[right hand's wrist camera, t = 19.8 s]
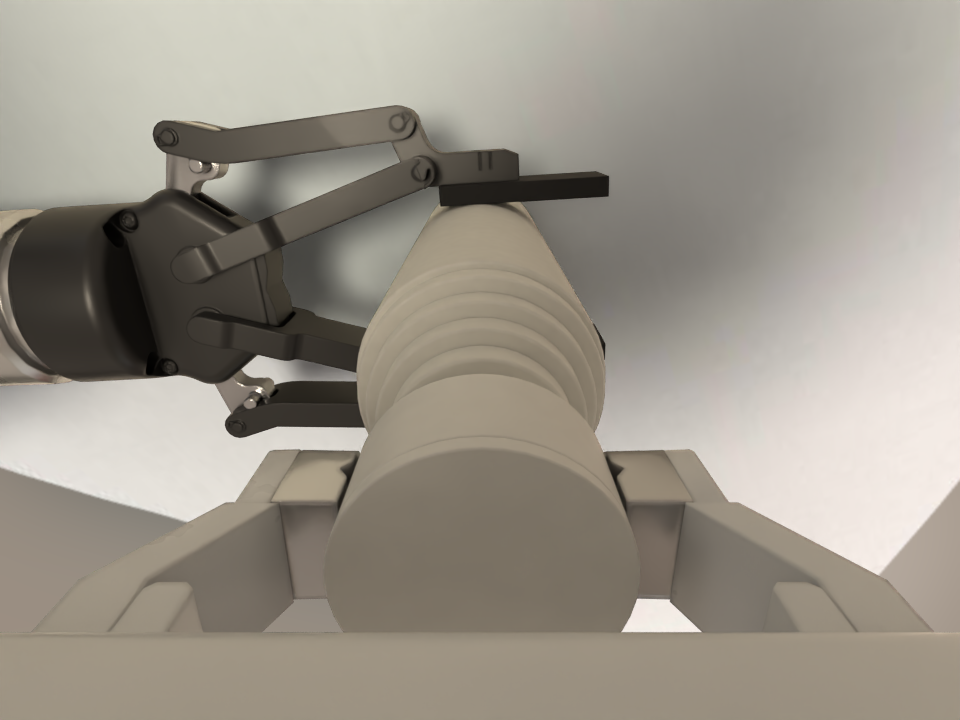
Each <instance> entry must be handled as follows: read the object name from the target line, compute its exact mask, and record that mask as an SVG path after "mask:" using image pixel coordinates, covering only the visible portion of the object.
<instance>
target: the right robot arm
mask: <svg viewBox="0 0 960 720" xmlns="http://www.w3.org/2000/svg"><path fill="white" fill-rule="evenodd" d="M603 453H604V456H605V459H606V462H607V464H608V467H609V470H610V472H611V475H612V478H613V480H614V483H615V486H616V488H617V491H618V494H619V496H620V499H621V502H622V505H623V507H624V510H625V513H626V515H627V518H628V521H629V523H630V526H631V529H632V531H633V534H634V537H635V541H636V544H637V547H638V551H639V558H640V567H641V570H640V586H639V590H638V595H637V598H639V599H670V602H671V603H672V604H673V605H674V606H675V607H676V608H677V609H678V610H679V611H680V612H681V613H683V614H684V615H685V616H686V617H687V618H688V619H689V620H690V621H691V622H692V623H693V624H694V625H695V626H696V627H697V628H698V629H700V630H701V631H702V632H263V631H264V630H265V629H266V628H267V627H268V626H269V625H270V624H271V623H272V622H273V621H274V620H275V619H276V618H277V617H278V616H280V615H281V614H282V613H283V612H284V611H285V610H286V609H287V608H288V607H289V606H290V605H291V604H292V603H293V602H294V601H293V599H323V598H327V594H326V590H325V585H324V569H323V567H324V559H325V551H326V547H327V544H328V540H329V537H330V534H331V531H332V528H333V526H334V523H335V521H336V518H337V515H338V512H339V510H340V507H341V504H342V502H343V499H344V496H345V494H346V491H347V488H348V485H349V483H350V480H351V477H352V475H353V472H354V469H355V467H356V464H357V461H358V459H359V456H360V452H359V451H328V450H302V451H301V450H300V449H299V450H273V451H270V452H269V453H268V454H267V455H266V457H265V458H264V460H263V461H262V463H261V464H260V466H259V467H258V469H257V470H256V472H255V473H254V475H253V476H252V478H251V479H250V481H249V482H248V484H247V485H246V487H245V488H244V490H243V491H242V493H241V494H240V496H239V497H238V499H237V500H236V502H231V503H224V504H222V505H220V506H218V507H216V508H215V509H213V510H211V511H209V512H207V513H205V514H203V515H201V516H199V517H197V518H195V519H194V520H192V521H190V522H188V523H186V524H184V525H182V526H180V527H178V528H176V529H174V530H172V531H171V532H169V533H167V534H165V535H163V536H161V537H159V538H157V539H155V540H153V541H152V542H150V543H148V544H146V545H144V546H142V547H140V548H138V549H136V550H134V551H132V552H130V553H129V554H127V555H125V556H123V557H121V558H119V559H117V560H115V561H113V562H111V563H109V564H107V565H106V566H104V567H102V568H100V569H98V570H96V571H94V572H92V573H90V574H88V575H87V576H85V577H83V578H81V579H79V580H78V581H77V582H76V583H75V584H74V585H73V587H72V588H71V589H70V590H69V591H68V592H67V593H66V594H65V595H64V596H63V598H62V599H61V600H60V601H59V602H58V603H57V604H56V605H55V606H54V607H53V609H52V610H51V611H50V612H49V613H48V614H47V615H46V616H45V617H44V619H43V620H42V621H41V622H40V623H39V624H38V625H37V626H36V627H35V629H34V630H33V631H32V632H0V720H960V632H934V631H933V630H932V629H931V628H930V627H929V625H928V624H927V623H926V622H925V621H924V620H923V619H922V618H921V617H920V616H919V615H918V613H917V612H916V611H915V610H914V609H913V608H912V607H911V606H910V605H909V603H908V602H907V601H906V600H905V599H904V598H903V597H902V596H901V595H900V594H899V592H898V591H897V590H896V589H895V588H894V587H893V586H892V585H891V584H890V583H889V581H888V580H886V579H884V578H882V577H880V576H878V575H876V574H874V573H872V572H870V571H869V570H867V569H865V568H863V567H861V566H859V565H857V564H855V563H853V562H851V561H849V560H847V559H846V558H844V557H842V556H840V555H838V554H836V553H834V552H832V551H830V550H828V549H826V548H824V547H823V546H821V545H819V544H817V543H815V542H813V541H811V540H809V539H807V538H805V537H803V536H801V535H799V534H798V533H796V532H794V531H792V530H790V529H788V528H786V527H784V526H782V525H780V524H778V523H776V522H775V521H773V520H771V519H769V518H767V517H765V516H763V515H761V514H759V513H757V512H755V511H753V510H752V509H750V508H748V507H746V506H744V505H742V504H740V503H733V502H728V500H727V499H726V497H725V496H724V494H723V493H722V491H721V490H720V489H719V487H718V486H717V484H716V483H715V481H714V480H713V478H712V477H711V475H710V474H709V473H708V471H707V470H706V468H705V467H704V465H703V464H702V462H701V461H700V460H699V458H698V457H697V455H696V454H695V452H694V451H692V450H690V449H685V450H650V451H609V452H603Z"/></svg>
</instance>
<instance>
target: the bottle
mask: <svg viewBox="0 0 960 720" xmlns="http://www.w3.org/2000/svg"><path fill="white" fill-rule="evenodd" d="M470 374H494V375H503V376H509V377H514V378H518V379H522V380H525V381H528V382H531V383H534V384H536V385H539V386H541V387H543V388H545V389H547V390H549V391H551V392H553V393H554V394H556V395H557V396H559V397H561V398H562V399H564V400H565V401H566V402H567V403H568V404H570V405H571V406H572V407H573V408H574V409H576V410H577V412H578V413H579V414H580V415H581V416H582V417H583V418H584V419H585V420H586V421H587V423H588V424H589V426H590V427H591V429H592V430H593V432H595V430H596V428H597V426H598V423H599V420H600V417H601V413H602V410H603V404H604V397H605V361H604V354H603V349H602V346H601V343H600V339H599V336H598V334H597V332H596V330H595V327H594V325H593V323H592V321H591V319H590V318H589V316H588V314H587V313H586V311H585V309H584V307H583V306H582V304H581V302H580V301H579V299H578V297H577V295H576V294H575V292H574V290H573V288H572V287H571V285H570V283H569V282H568V280H567V278H566V276H565V275H564V273H563V271H562V269H561V268H560V266H559V264H558V263H557V261H556V259H555V257H554V256H553V254H552V252H551V251H550V249H549V247H548V245H547V244H546V242H545V240H544V238H543V237H542V235H541V233H540V232H539V230H538V228H537V226H536V225H535V223H534V221H533V219H532V218H531V216H530V214H529V213H528V211H527V210H526V208H525V207H524V206H523V205H522V203H521V202H509V203H492V204H476V205H460V206H443V207H440V203H439V204H438V205H437V207H436V208H435V209H434V211H433V212H432V214H431V216H430V217H429V219H428V221H427V223H426V224H425V226H424V228H423V230H422V231H421V233H420V235H419V237H418V239H417V240H416V242H415V244H414V246H413V247H412V249H411V251H410V253H409V254H408V256H407V258H406V260H405V261H404V263H403V265H402V267H401V269H400V270H399V272H398V274H397V276H396V277H395V279H394V281H393V283H392V284H391V286H390V288H389V290H388V291H387V293H386V295H385V297H384V299H383V300H382V302H381V304H380V306H379V307H378V309H377V311H376V313H375V314H374V316H373V318H372V320H371V321H370V323H369V325H368V327H367V330H366V332H365V334H364V337H363V339H362V342H361V346H360V350H359V354H358V361H357V395H358V403H359V409H360V414H361V417H362V420H363V423H364V426H365V428H366V430H367V432H368V434H369V433H370V432H371V430H372V429H373V427H374V426H375V424H376V423H377V421H378V420H379V419H380V418H381V417H382V416H383V415H384V413H385V412H386V411H387V410H388V409H389V408H391V407H392V406H393V405H394V404H395V403H397V402H398V401H399V400H400V399H402V398H403V397H405V396H406V395H408V394H410V393H411V392H413V391H414V390H417V389H419V388H421V387H423V386H425V385H427V384H430V383H433V382H436V381H439V380H442V379H445V378H450V377H455V376H461V375H470Z"/></svg>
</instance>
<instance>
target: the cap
mask: <svg viewBox="0 0 960 720" xmlns="http://www.w3.org/2000/svg"><path fill="white" fill-rule="evenodd" d="M323 569H324V585H325V590H326V594H327V599H328V602H329V605H330V607H331V610H332V613H333V615H334V617H335V619H336V621H337V622H338V624H339V626H340V628H341V629H342V631H343V632H621V631H622V630H623V628H624V626H625V625H626V623H627V621H628V619H629V618H630V616H631V613H632V611H633V608H634V605H635V603H636V600H637V595H638V590H639V586H640V570H641V567H640V558H639V551H638V547H637V544H636V541H635V537H634V534H633V531H632V529H631V526H630V523H629V521H628V518H627V515H626V513H625V510H624V507H623V505H622V502H621V499H620V496H619V494H618V491H617V488H616V486H615V483H614V480H613V478H612V475H611V472H610V470H609V467H608V464H607V462H606V459H605V456H604V453H603V451H602V448H601V446H600V444H599V442H598V439H597V437H596V435H595V433H594V432H593V430H592V429H591V427H590V426H589V424H588V423H587V421H586V420H585V419H584V418H583V417H582V416H581V415H580V414H579V413H578V412H577V410H576V409H574V408H573V407H572V406H571V405H570V404H568V403H567V402H566V401H565V400H564V399H562V398H561V397H559V396H557V395H556V394H554V393H553V392H551V391H549V390H547V389H545V388H543V387H541V386H539V385H536V384H534V383H531V382H528V381H525V380H522V379H518V378H514V377H509V376H503V375H494V374H470V375H461V376H455V377H450V378H445V379H442V380H439V381H436V382H433V383H430V384H427V385H425V386H423V387H421V388H419V389H417V390H414V391H413V392H411V393H410V394H408V395H406V396H405V397H403V398H402V399H400V400H399V401H398V402H397V403H395V404H394V405H393V406H392V407H391V408H389V409H388V410H387V411H386V412H385V413H384V415H383V416H382V417H381V418H380V419H379V420H378V421H377V423H376V424H375V426H374V427H373V429H372V430H371V432H370V433H369V435H368V437H367V439H366V441H365V443H364V445H363V448H362V450H361V453H360V456H359V459H358V461H357V464H356V467H355V469H354V472H353V475H352V477H351V480H350V483H349V485H348V488H347V491H346V494H345V496H344V499H343V502H342V504H341V507H340V510H339V512H338V515H337V518H336V521H335V523H334V526H333V528H332V531H331V534H330V537H329V540H328V544H327V547H326V551H325V559H324V567H323Z"/></svg>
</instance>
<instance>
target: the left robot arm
mask: <svg viewBox="0 0 960 720" xmlns="http://www.w3.org/2000/svg"><path fill="white" fill-rule="evenodd" d="M420 122H421V121H420V119H419V116H418V114H417V113H416V112H415V111H414V110H412V109H410V108H407V107H404V106H397V105H394V106H387V107H380V108H373V109H366V110H359V111H352V112H345V113H338V114H331V115H324V116H317V117H310V118H303V119H296V120H289V121H282V122H276V123H269V124H262V125H255V126H248V127H241V128H234V129H229V128H224V127H220V126H216V125H212V124H207V123H203V122H197V121H161V122H159V123H157V125H156V126H155V127H154V131H153V138H154V141H155V143H156V145H157V147H158V148H159V149H160V150H162V151H163V152H165V153H167V161H166V189H164V190H161V191H159V192H157V193H155V194H154V195H153V196H152V197H150V198H149V199H148V200H146V201H144V202H136V203H120V204H104V205H88V206H72V207H58V208H51V209H48V210H45V211H42V210H38V209H23V210H8V211H0V386H13V385H40V384H59V383H66V382H71V381H73V380H74V381H80V382H91V381H110V380H128V379H147V378H159V377H167V376H175V375H181V376H187V377H191V378H194V379H196V380H199V381H201V382H204V383H208V384H215V385H216V387H217V389H218V391H219V392H220V394H221V396H222V398H223V399H224V401H225V403H226V405H227V406H228V408H229V410H230V412H231V414H230V416H229V417H228V418H227V419H226V421H225V427H226V430H227V431H228V432H229V433H230V434H231V435H233V436H234V437H238V438H242V437H247V436H250V435H253V434H256V433H259V432H262V431H265V430H268V429H271V428H274V427H277V426H278V427H363V428H365V426H364V423H363V420H362V417H361V414H360V409H359V403H358V395H357V382H345V381H291V382H284V383H280V384H276V385H274V381H273V380H272V379H270V378H252V377H249V376H247V375H246V374H245V373H244V372H243V371H242V370H241V369H242V368H243V367H244V366H245V365H247V364H248V363H249V362H250V361H251V360H252V359H254V358H255V357H256V356H257V355H261V356H266V357H270V358H274V359H279V360H284V361H290V360H295V359H301V360H305V361H309V362H314V363H318V364H322V365H327V366H331V367H335V368H340V369H344V370H348V371H352V372H357V361H358V354H359V350H360V346H361V342H362V339H363V337H364V334H365V332H366V330H367V328H363V327H359V326H355V325H351V324H346V323H342V322H338V321H334V320H330V319H325V318H321V317H318V316H316V315H315V314H314V313H313V312H311V311H308V310H304V309H300V308H296V307H292V305H291V300H290V295H289V293H288V291H287V289H286V287H285V285H284V283H283V280H282V273H283V257H282V252H281V247H282V246H284V245H286V244H289V243H291V242H294V241H296V240H299V239H301V238H304V237H306V236H308V235H311V234H313V233H316V232H318V231H321V230H323V229H326V228H328V227H331V226H333V225H335V224H338V223H340V222H343V221H345V220H348V219H350V218H353V217H355V216H358V215H360V214H362V213H365V212H367V211H370V210H372V209H375V208H377V207H380V206H382V205H385V204H387V203H389V202H392V201H394V200H397V199H399V198H402V197H404V196H407V195H409V194H412V193H414V192H416V191H419V190H421V189H426V188H427V187H435V186H439V195H440V207H443V206H460V205H476V204H492V203H509V202H525V201H542V200H558V199H574V198H591V197H607V196H609V176H607V175H605V174H602V173H599V172H596V171H594V172H578V173H562V174H546V175H529V176H519V157H518V154H517V153H515V152H512V151H509V150H507V149H490V150H474V151H458V152H441V151H439V150H437V149H435V148H434V147H433V146H432V145H431V144H430V142H429V141H428V139H427V136H426V134H425V132H424V130H423V127H422V125H421V123H420ZM384 142H392V144H393V147H394V149H395V151H396V153H397V155H398V157H399V160H400V163H398V164H395V165H393V166H391V167H388V168H386V169H383V170H381V171H379V172H376V173H374V174H371V175H369V176H367V177H364V178H362V179H359V180H357V181H355V182H352V183H350V184H347V185H345V186H343V187H340V188H338V189H335V190H333V191H331V192H328V193H326V194H323V195H321V196H319V197H316V198H314V199H311V200H309V201H307V202H304V203H302V204H299V205H297V206H295V207H292V208H290V209H287V210H285V211H283V212H280V213H278V214H275V215H273V216H271V217H268V218H266V219H263V220H261V221H259V222H256V223H253V222H251V221H249V220H248V219H246V218H244V217H243V216H241V215H239V214H237V213H236V212H234V211H232V210H231V209H229V208H227V207H226V206H224V205H222V204H221V203H219V202H217V201H216V200H214V199H212V198H211V197H209V196H207V195H206V194H204V193H202V192H201V188H202V185H203V184H204V182H206V181H207V180H213V179H218V178H221V177H223V176H225V175H226V173H227V171H228V168H229V164H230V163H240V162H248V161H255V160H263V159H270V158H277V157H284V156H291V155H298V154H305V153H313V152H320V151H327V150H334V149H341V148H348V147H355V146H363V145H370V144H377V143H384ZM593 325H594V324H593ZM594 327H595V330H596V332H597V334H598V336H599V339H600V343H601V346H602V349H603V354H604V360H605V342H604V340H603V339H602V337H601V335H600V333H599V332H598V330H597V328H596V326H595V325H594Z"/></svg>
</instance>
